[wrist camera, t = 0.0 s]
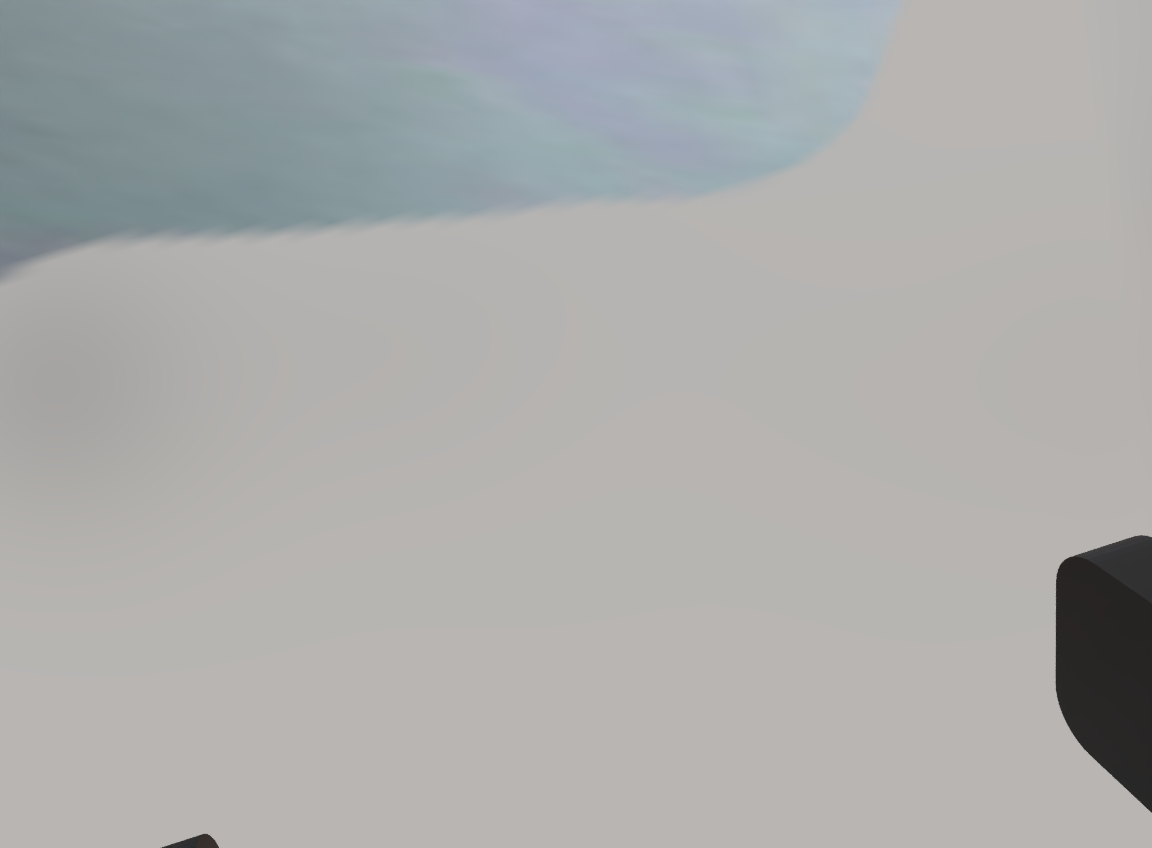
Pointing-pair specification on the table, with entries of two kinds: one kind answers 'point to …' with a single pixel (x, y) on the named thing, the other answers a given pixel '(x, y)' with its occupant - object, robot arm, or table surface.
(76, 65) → the table surface
